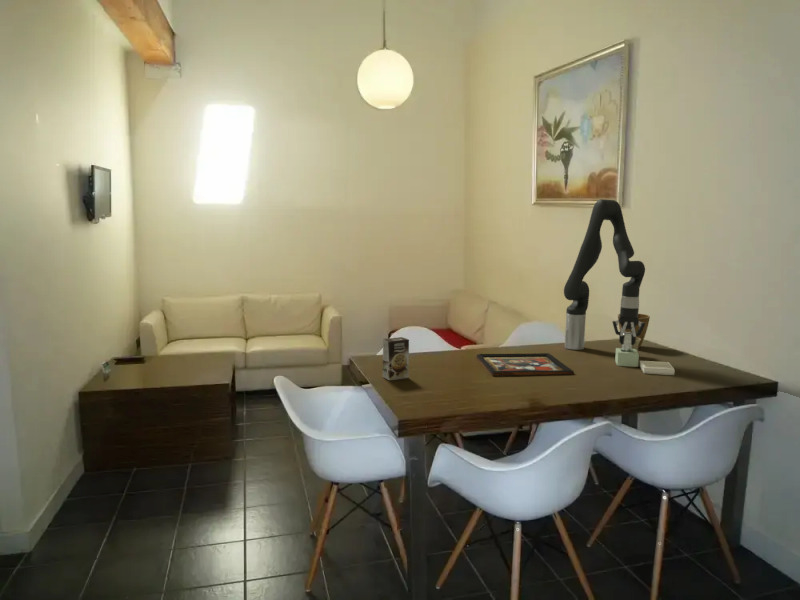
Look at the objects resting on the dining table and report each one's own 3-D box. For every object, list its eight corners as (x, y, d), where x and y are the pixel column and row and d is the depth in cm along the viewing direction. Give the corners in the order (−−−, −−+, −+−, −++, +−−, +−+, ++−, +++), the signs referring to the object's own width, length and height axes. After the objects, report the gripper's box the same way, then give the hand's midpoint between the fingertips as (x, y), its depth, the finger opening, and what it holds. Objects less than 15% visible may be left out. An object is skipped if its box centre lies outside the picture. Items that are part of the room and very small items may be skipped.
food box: (389, 380, 249) (389, 341, 247) (382, 377, 255) (382, 338, 252) (409, 378, 253) (409, 339, 251) (402, 374, 259) (402, 336, 256)
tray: (643, 373, 261) (644, 367, 261) (639, 366, 273) (639, 360, 272) (674, 375, 259) (674, 369, 258) (668, 367, 270) (668, 362, 270)
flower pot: (636, 354, 295) (637, 336, 294) (642, 359, 286) (643, 340, 284) (616, 353, 296) (617, 335, 294) (621, 358, 286) (622, 340, 285)
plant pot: (639, 343, 318) (641, 312, 315) (653, 350, 303) (655, 317, 301) (611, 343, 317) (613, 312, 315) (623, 350, 302) (625, 318, 300)
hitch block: (617, 365, 274) (618, 352, 273) (615, 360, 282) (615, 348, 281) (638, 366, 272) (638, 353, 271) (635, 362, 280) (636, 349, 279)
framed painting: (495, 380, 252) (496, 373, 252) (468, 359, 286) (468, 353, 286) (581, 376, 260) (582, 369, 260) (545, 356, 294) (545, 350, 294)
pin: (621, 359, 275) (623, 333, 273) (620, 357, 279) (622, 331, 277) (631, 360, 274) (633, 333, 272) (630, 358, 278) (632, 331, 276)
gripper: (645, 305, 275) (642, 343, 278) (611, 304, 278) (609, 341, 281) (648, 308, 268) (645, 347, 270) (613, 306, 271) (611, 345, 274)
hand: (626, 344), depth 276 cm, fingers closed on pin, 4 cm apart
